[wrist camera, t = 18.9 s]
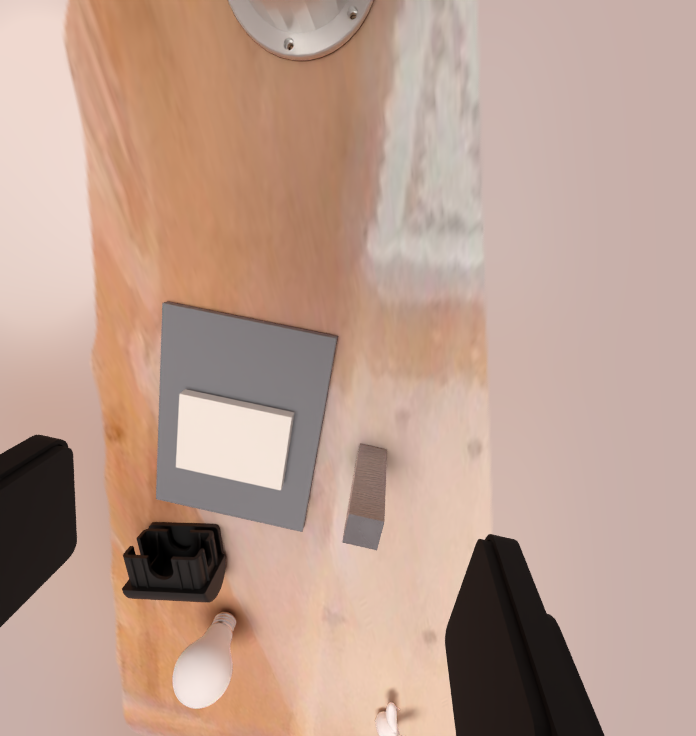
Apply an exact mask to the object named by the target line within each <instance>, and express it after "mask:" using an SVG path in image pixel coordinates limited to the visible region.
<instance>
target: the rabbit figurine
mask: <svg viewBox="0 0 696 736" xmlns="http://www.w3.org/2000/svg"><path fill="white" fill-rule="evenodd" d="M397 709H398V710H399V711H400V709H399V708H398V707H396V706H395V704H394V703H393V702H389V703H388V704H387V708H386V712H384V711H383V712H379V713H378V715H377V717H376V719H375V722H376V728H377V732H378V734H379V736H404V735H400V734H399V728H398V725H397Z"/></svg>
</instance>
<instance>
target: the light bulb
mask: <svg viewBox="0 0 696 736" xmlns="http://www.w3.org/2000/svg"><path fill="white" fill-rule="evenodd" d="M235 626H236V619H235V617H234V616H233V615H232V614H231V613H229V612H220V613H218V614H217V615H216V616H215V618H214V620H213V623H212V624H211V626H210V627H209V628H208V629H207V631H206V632H205V634H204V635H203V636H202V637H201V638H199V639H198V640H197V641H195V642H194V643H192V644H191V645H189V646H188V647H187V648H186V649H185V650H184V651H183V652H182V654H181V655H180V657H179V658H178V660H177V662H176V665H175V668H174V672H173V688H174V692H175V694H176V696H177V698H178V700H179V701H180V702H181V703H182V704H184V705H185V706H187V707H190V708H195V709H199V708H204V707H207V706H209V705H211V704H213V703H214V702H216V701H217V700H218V699H219V698H220V697H221V696H222V695H223V693H224V692H225V690H226V689H227V687H228V685H229V683H230V679H231V676H232V668H233V663H232V657H231V651H230V644H231V640H232V632H233V631H234V628H235Z"/></svg>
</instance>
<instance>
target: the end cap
mask: <svg viewBox="0 0 696 736" xmlns="http://www.w3.org/2000/svg"><path fill="white" fill-rule="evenodd" d="M137 542H138V546H139V550H140V554H141V555H135V551H134V547H133V546H130V547H129V548H128V549H127V550H126V552H125V553H124V554H123V557H124V561H125V564H126V568H127V572H128V576H129V580H128V582H127V583H126V584H125V586H124V587H123V588H122V590H123V593H124V594H125V596H126V597H128V598H132V599H151V600H170V601H190V602H211V601H213V600H214V599H215V598H216V596H217V595H218V593H219V591H220V589H221V586H222V583H223V579H224V574H225V554H224V550H223V544H222V538H221V533H220V528H219V526H218V525H217V524H201V523H166V522H153V523H152V524H151V525H150V526H149V529H146V530H144V531H143V532H142V533H141V534H140V535H139V536H138V537H137Z"/></svg>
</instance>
